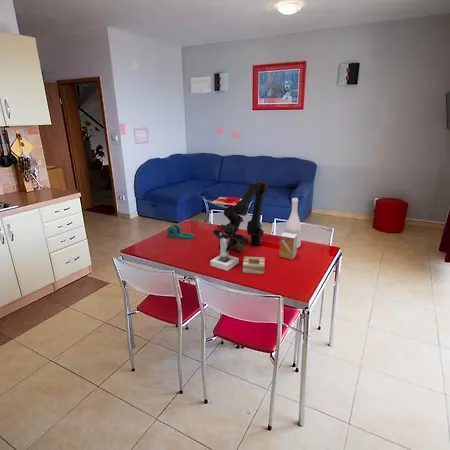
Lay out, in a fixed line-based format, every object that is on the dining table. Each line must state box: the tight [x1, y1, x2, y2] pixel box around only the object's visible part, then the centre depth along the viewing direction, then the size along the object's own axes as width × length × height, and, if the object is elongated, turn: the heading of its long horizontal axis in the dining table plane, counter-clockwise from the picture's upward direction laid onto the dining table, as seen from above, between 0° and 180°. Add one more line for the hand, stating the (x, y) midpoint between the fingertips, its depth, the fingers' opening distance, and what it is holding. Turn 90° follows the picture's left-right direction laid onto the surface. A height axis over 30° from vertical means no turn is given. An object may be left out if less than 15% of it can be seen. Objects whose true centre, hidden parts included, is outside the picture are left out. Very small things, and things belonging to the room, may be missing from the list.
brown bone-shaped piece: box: [228, 235, 249, 253], centre depth 192 cm, size 6×10×20 cm
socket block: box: [242, 256, 265, 275], centre depth 166 cm, size 11×11×4 cm
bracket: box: [166, 223, 195, 241], centre depth 211 cm, size 18×7×8 cm, turn 68°
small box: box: [278, 232, 298, 260], centre depth 178 cm, size 8×6×13 cm
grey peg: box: [219, 237, 230, 263], centre depth 169 cm, size 4×4×13 cm
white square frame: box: [209, 254, 240, 272], centre depth 172 cm, size 11×11×3 cm
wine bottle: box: [284, 197, 303, 249], centre depth 189 cm, size 10×10×30 cm
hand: (222, 250), depth 168 cm, fingers closed on grey peg, 4 cm apart
